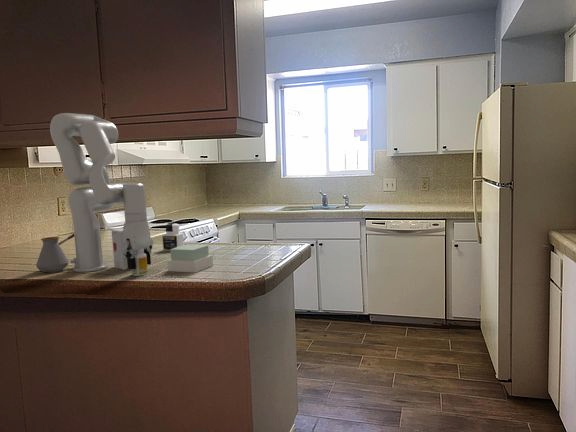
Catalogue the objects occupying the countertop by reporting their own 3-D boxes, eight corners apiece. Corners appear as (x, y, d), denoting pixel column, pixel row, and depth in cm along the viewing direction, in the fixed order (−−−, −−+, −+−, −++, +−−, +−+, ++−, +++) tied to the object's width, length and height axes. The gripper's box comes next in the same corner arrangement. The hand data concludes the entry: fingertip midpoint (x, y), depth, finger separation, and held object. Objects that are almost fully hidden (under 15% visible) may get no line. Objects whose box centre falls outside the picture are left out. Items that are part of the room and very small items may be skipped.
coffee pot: (46, 275, 186) (42, 235, 184) (31, 272, 193) (27, 233, 191) (97, 264, 203) (94, 228, 201) (82, 262, 210) (79, 226, 208)
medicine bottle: (163, 250, 230) (161, 224, 229) (170, 248, 237) (168, 222, 236) (177, 250, 228) (175, 224, 227) (184, 248, 235) (182, 222, 234)
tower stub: (167, 271, 184) (166, 249, 183) (186, 264, 195) (185, 244, 194) (195, 272, 179) (194, 250, 178) (213, 265, 190) (211, 244, 189)
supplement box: (113, 267, 196) (110, 229, 194) (135, 263, 202) (132, 226, 200) (123, 270, 189) (120, 231, 188) (145, 266, 195) (142, 228, 194)
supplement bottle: (149, 272, 183) (147, 246, 182) (145, 275, 178) (143, 248, 176) (134, 273, 183) (132, 247, 182) (130, 276, 177) (128, 249, 176)
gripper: (143, 215, 187) (146, 261, 189) (110, 221, 171) (114, 271, 173) (159, 215, 185) (163, 262, 186) (127, 221, 169) (131, 272, 170)
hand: (139, 266), depth 180 cm, fingers open, 7 cm apart
